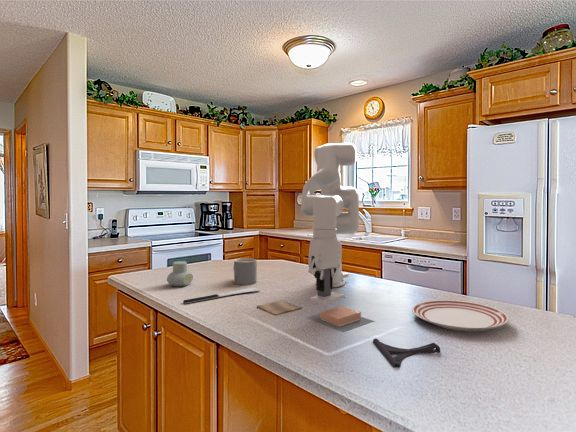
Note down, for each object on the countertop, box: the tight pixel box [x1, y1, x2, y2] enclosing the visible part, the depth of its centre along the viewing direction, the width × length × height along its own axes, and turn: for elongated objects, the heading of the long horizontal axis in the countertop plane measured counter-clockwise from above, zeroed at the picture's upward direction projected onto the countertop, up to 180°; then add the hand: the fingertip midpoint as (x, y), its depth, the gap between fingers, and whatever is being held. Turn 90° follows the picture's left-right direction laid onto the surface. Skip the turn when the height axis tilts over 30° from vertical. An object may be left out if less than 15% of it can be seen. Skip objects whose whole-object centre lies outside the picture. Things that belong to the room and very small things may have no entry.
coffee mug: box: [233, 257, 258, 286], centre depth 167 cm, size 13×10×10 cm
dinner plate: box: [411, 299, 510, 332], centre depth 116 cm, size 28×27×3 cm
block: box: [319, 305, 362, 326], centre depth 116 cm, size 10×2×8 cm
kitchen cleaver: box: [182, 287, 261, 305], centre depth 145 cm, size 31×2×10 cm
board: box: [256, 299, 302, 316], centre depth 127 cm, size 11×11×1 cm
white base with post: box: [309, 269, 346, 305], centre depth 120 cm, size 6×10×11 cm, turn 129°
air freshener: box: [166, 260, 194, 287], centre depth 161 cm, size 11×8×10 cm
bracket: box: [372, 338, 441, 368], centre depth 93 cm, size 14×15×3 cm
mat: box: [306, 312, 375, 333], centre depth 116 cm, size 14×16×1 cm
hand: (324, 289), depth 121 cm, fingers closed on white base with post, 3 cm apart
